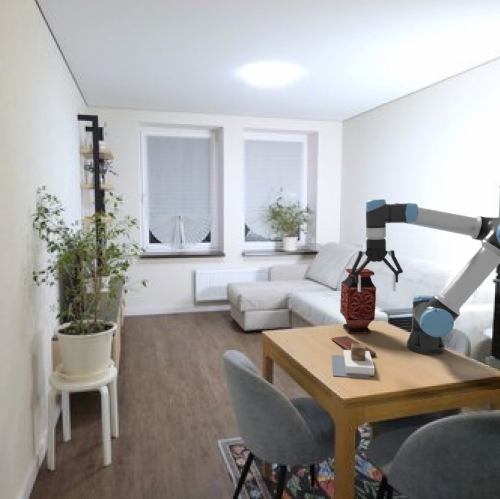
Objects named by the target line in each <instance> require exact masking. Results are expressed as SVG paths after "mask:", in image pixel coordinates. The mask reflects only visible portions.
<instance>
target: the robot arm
mask: <svg viewBox="0 0 500 499" xmlns="http://www.w3.org/2000/svg"><path fill="white" fill-rule="evenodd" d="M387 224H406V225H407V224H408V225H414V226H418V227H423V228H428V229H434V230H439V231H443V232H450V233H452V234H458V235H464V236H469V237H470V238H471V239H473V240H476V241H480V242H481V247H480V248H479V249H478V250H477V252H475V253H474V255H473V256H472V257H471V258H470V259H469V261H468V262H467V263H466V264H465V266H463V268H461V270H460V271H459V273H457V275H456V276H455V277H454V278H453V279H452V281H451V282H450V283H449V284H448V285H447V286H446V288H444V290H443V291H441V293H440V294H436V295H425V294H424V295H421V294H420V295H415V296H413V298H412V316H411V320H412V321H411V322H412V323H411V331H410V333H409V336H408V338H407V341H406V348H407V349H408V350H410V351H412V352H415V353H418V354H424V355H440V354H443V353H445V351H446V350H445V349H446V345H445V342H444V341H445V340H444V338H443V337H445V336H447V335H449V334H450V333H451V332H452V331H453V329H454V326H455V322H456V320H457V319H458V317H460V315H461V313H460V309H461V308H462V307H463V305H464V304H465V303H466V302H467V301H468V300H469V299H470V297H471V296H472V295H473V294H474V293H475V292H476V291H477V289H478V288H479V287H480V286H482V284H483V283H484V281H486V280H487V278H488V277H489V276H490V275H491V274H492V272H493V271H494V270H496V268H497V267H498V266H499V265H500V217H487V216H483V215H482V216H480V215H477V216H476V217H472V216H467V215H461V214H458V213H451V212H446V211H441V210H436V209H430V208H424V207H419V206H418V204H417V203H416V202H415V203H410V202H407V203H397V202H396V203H393V204H392V203H387V202H386V199H384V198H382V199H369V200H367V201H366V204H365V227H366V228H365V230H366V234H365V237H366V241H365V242H366V244H365V246H366V248H365V249H366V250H364V251H363V250H358V254H357V257H356V259H355V261H354V263H353V265H352V267H351V268H350V269H351V271H350V273H351V274H354V275H355V283H358V291H359V292H361V276H360V275H359V274H360V273H361V271H362V270H363V269H366V266H368V264H370V262H372V263H375V262H376V263H377V262H379V263H380V262H383V263H384V264H385V265H386V266H387V268H388V269H390V271H391V272H392V273H391V291H393V292H396V288H397V287H396V284H397V283H399V275H400V274H403V273H404V270H403V268H402V266H401V264H400V263H399V261H398V259H397V256H396V254H395V250H393V249H390V250H387V244H386V243H387V240H386V237H387V232H386V231H387V226H386V225H387ZM387 255H388V256H389V257H391V260H392V261H393V264H394V265H395V267H396V268H395V267H394V266H393V265H392V264H391V263H390V262H389V261H388V260H387V258H386V257H387ZM364 256H366V258H365V260H364V261H363V262H362V263H361V265H360V262H361V260H362V258H363V257H364ZM358 266H359V267H358ZM356 269H358V270H357V271H356V272H355V270H356Z"/></svg>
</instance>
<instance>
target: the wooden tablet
mask: <svg viewBox="0 0 500 499" xmlns="http://www.w3.org/2000/svg"><path fill="white" fill-rule="evenodd" d="M331 340H332V341H334V342H335V343H337V344H338V345H340V346H342V347H343V348H344V350H351V343H354V344H362V343H360V342H359V341H357V340H355V339H353V338H351V337H350V336H346V335H345V336H344V335H342V336H335V337H331ZM365 348H366V351H369V353H370V356H371V357H372V356H376V354H377V352H375V351H374V350H373V349H371V348H369V347H367V346H366V345H365Z"/></svg>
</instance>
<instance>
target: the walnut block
mask: <svg viewBox="0 0 500 499" xmlns="http://www.w3.org/2000/svg"><path fill="white" fill-rule="evenodd" d="M365 346H366V345H365V343H361V344H354V343H351V360H353V361H365V354H366V348H365Z"/></svg>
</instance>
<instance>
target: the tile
mask: <svg viewBox="0 0 500 499" xmlns="http://www.w3.org/2000/svg"><path fill="white" fill-rule="evenodd" d="M342 353H343V354H342V355H343V358H344V365H345V372H346V374H351V375H368V376H370V377H371V376H372V377H374V376H375V368H376V367H375V366H374V362H373V359H372V356H370V353H369V351H366V354H365V361H353V360H351V350H347V349H343V351H342Z"/></svg>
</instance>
